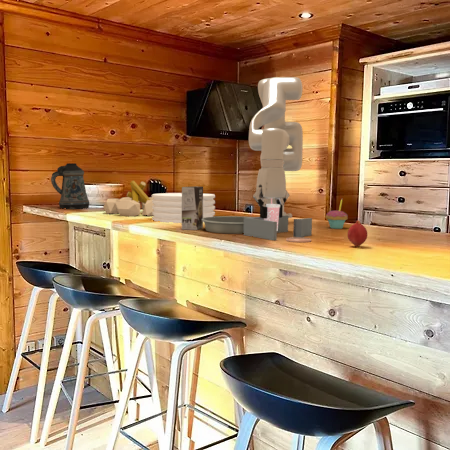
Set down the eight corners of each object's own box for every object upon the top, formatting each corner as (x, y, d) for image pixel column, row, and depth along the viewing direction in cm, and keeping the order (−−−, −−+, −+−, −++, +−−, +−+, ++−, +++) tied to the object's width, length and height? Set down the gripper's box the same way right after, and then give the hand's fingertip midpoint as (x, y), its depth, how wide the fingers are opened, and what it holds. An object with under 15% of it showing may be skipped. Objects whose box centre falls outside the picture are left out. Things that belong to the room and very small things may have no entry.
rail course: (285, 231, 191) (286, 215, 191) (317, 236, 178) (317, 219, 177) (243, 234, 180) (243, 217, 179) (273, 240, 167) (274, 221, 166)
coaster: (299, 238, 173) (299, 236, 173) (316, 241, 166) (316, 239, 166) (281, 240, 168) (281, 238, 168) (298, 243, 161) (298, 241, 161)
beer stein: (95, 208, 293) (95, 163, 290) (69, 210, 276) (68, 163, 273) (75, 206, 301) (74, 163, 298) (48, 208, 285) (47, 163, 282)
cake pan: (219, 236, 178) (219, 223, 177) (191, 228, 199) (191, 217, 199) (279, 233, 189) (279, 220, 188) (246, 226, 211) (246, 215, 210)
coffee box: (197, 230, 192) (197, 186, 191) (181, 229, 194) (181, 186, 192) (203, 227, 201) (203, 186, 200) (187, 227, 203) (187, 185, 201)
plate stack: (140, 219, 233) (140, 193, 232) (189, 216, 252) (189, 192, 250) (177, 224, 212) (177, 196, 211) (227, 220, 231) (228, 195, 230)
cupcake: (349, 227, 206) (350, 197, 205) (344, 229, 199) (345, 198, 197) (328, 226, 210) (329, 197, 209) (322, 228, 202) (323, 197, 201)
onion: (344, 245, 158) (345, 219, 157) (362, 245, 158) (363, 219, 157) (350, 248, 152) (351, 221, 151) (369, 248, 152) (370, 221, 152)
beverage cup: (258, 230, 178) (259, 189, 176) (268, 229, 183) (269, 189, 181) (273, 232, 174) (274, 190, 173) (283, 230, 179) (284, 190, 177)
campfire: (93, 213, 262) (93, 179, 260) (149, 210, 285) (149, 179, 283) (131, 218, 237) (130, 181, 235) (188, 214, 260) (189, 180, 258)
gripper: (283, 165, 184) (282, 215, 186) (245, 164, 174) (244, 218, 176) (298, 165, 178) (297, 217, 180) (259, 164, 168) (258, 220, 170)
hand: (271, 217), depth 178 cm, fingers closed on beverage cup, 6 cm apart
